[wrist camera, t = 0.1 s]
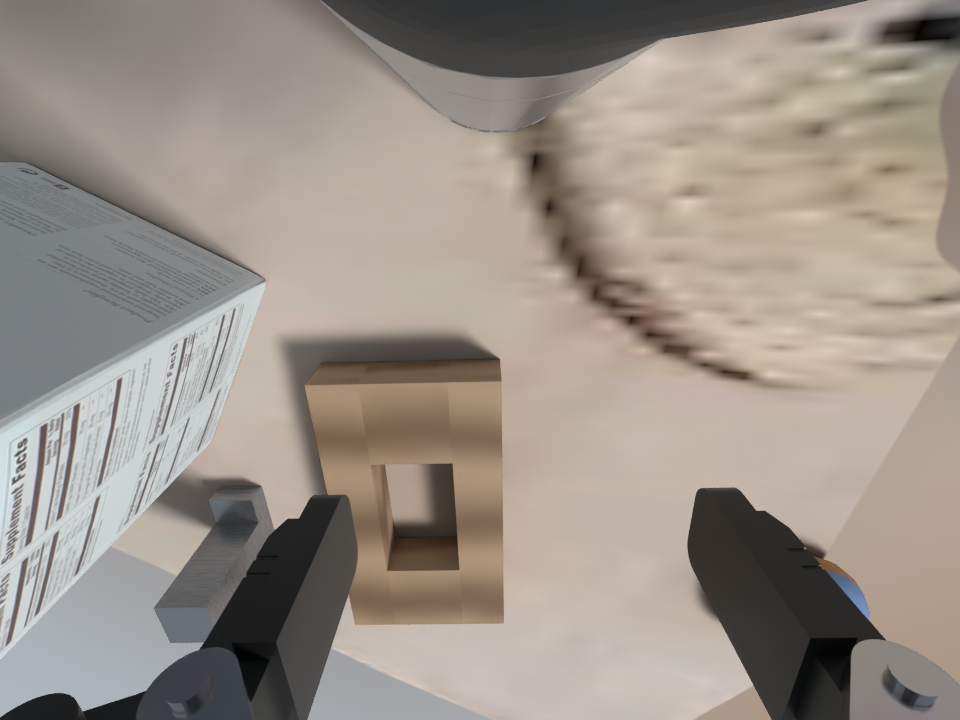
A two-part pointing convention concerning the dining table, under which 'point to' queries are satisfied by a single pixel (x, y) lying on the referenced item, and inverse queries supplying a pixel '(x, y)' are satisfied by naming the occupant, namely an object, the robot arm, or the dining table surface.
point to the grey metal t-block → (216, 564)
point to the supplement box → (99, 377)
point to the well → (416, 440)
